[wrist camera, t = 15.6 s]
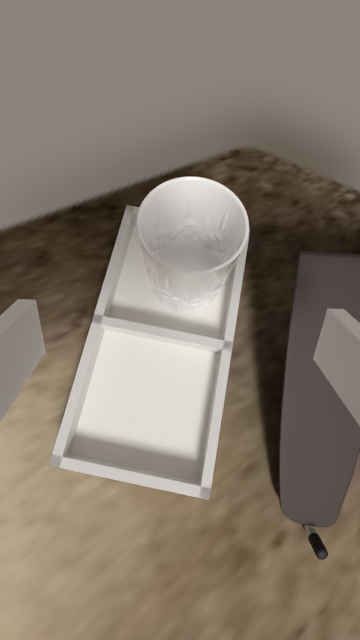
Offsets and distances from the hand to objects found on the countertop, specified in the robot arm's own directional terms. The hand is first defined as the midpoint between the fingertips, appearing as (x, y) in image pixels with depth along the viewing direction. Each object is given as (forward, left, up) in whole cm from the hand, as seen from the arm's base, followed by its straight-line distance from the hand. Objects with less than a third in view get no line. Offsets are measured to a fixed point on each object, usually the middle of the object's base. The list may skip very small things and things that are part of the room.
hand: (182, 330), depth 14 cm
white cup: (-1, +9, -15) cm, 18 cm away
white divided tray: (-2, +3, -16) cm, 16 cm away
